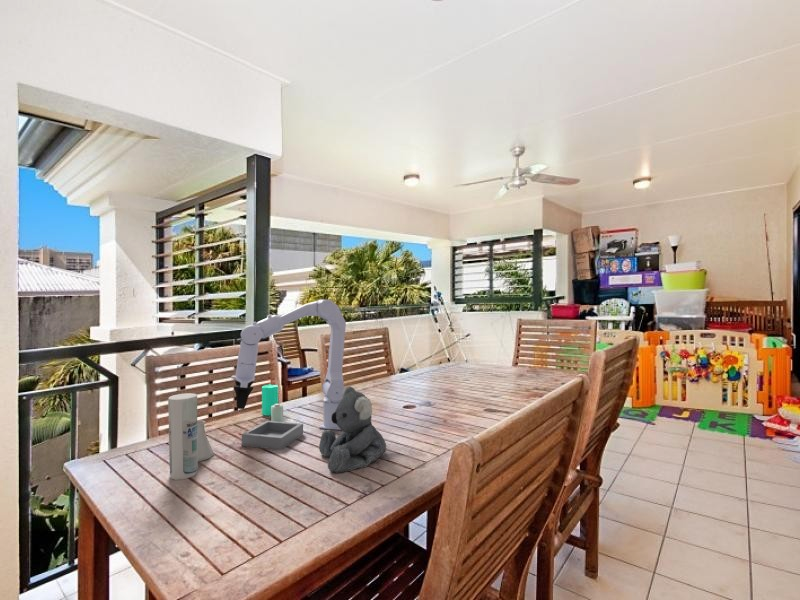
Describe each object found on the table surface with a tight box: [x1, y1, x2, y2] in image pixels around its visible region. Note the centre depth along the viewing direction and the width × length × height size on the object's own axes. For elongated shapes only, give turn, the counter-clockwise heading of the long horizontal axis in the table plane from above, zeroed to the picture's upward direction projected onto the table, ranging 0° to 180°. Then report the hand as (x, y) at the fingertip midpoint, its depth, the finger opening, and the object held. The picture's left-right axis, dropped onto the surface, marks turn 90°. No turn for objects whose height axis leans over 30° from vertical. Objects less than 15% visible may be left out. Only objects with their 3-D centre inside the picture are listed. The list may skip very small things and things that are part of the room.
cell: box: [270, 403, 284, 422], centre depth 140 cm, size 4×4×8 cm
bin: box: [241, 420, 304, 451], centre depth 127 cm, size 13×13×4 cm
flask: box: [197, 420, 215, 462], centre depth 113 cm, size 7×7×10 cm
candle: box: [261, 383, 279, 416], centre depth 155 cm, size 6×6×12 cm
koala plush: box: [318, 384, 387, 473], centre depth 112 cm, size 17×18×20 cm
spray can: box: [167, 392, 199, 481], centre depth 103 cm, size 6×6×20 cm
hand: (240, 405), depth 128 cm, fingers open, 7 cm apart
